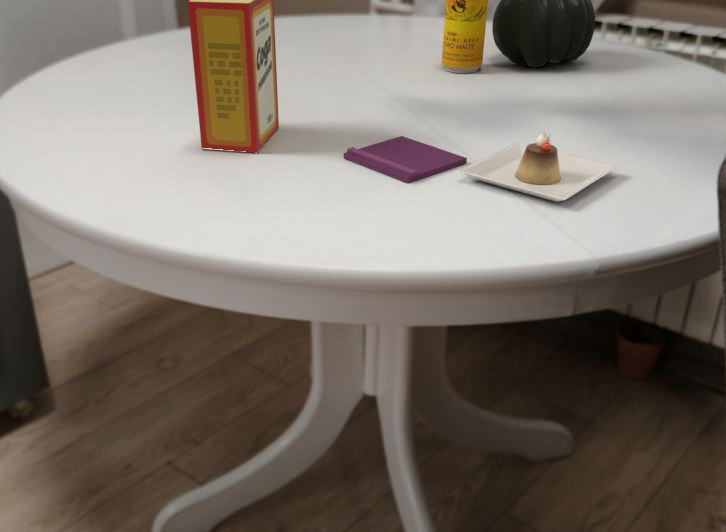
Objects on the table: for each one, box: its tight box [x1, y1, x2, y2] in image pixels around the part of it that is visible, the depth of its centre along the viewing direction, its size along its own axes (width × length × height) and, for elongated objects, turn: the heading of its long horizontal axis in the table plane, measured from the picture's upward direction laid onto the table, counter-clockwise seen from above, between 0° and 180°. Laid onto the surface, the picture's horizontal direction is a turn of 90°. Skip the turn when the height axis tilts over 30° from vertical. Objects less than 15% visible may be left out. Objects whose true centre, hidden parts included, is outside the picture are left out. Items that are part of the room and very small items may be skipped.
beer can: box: [441, 0, 489, 74], centre depth 118 cm, size 6×6×15 cm
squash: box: [491, 0, 596, 68], centre depth 122 cm, size 14×15×15 cm
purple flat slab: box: [343, 135, 468, 184], centre depth 88 cm, size 10×9×1 cm
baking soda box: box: [187, 0, 280, 153], centre depth 90 cm, size 10×6×16 cm
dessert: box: [457, 132, 619, 203], centre depth 82 cm, size 12×12×5 cm
